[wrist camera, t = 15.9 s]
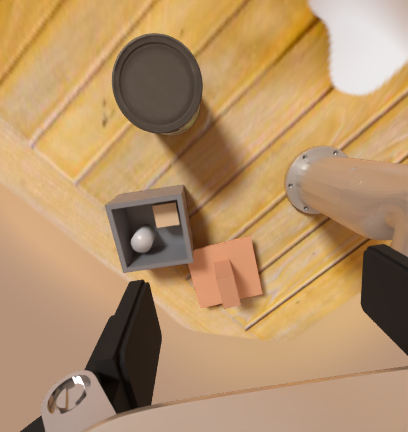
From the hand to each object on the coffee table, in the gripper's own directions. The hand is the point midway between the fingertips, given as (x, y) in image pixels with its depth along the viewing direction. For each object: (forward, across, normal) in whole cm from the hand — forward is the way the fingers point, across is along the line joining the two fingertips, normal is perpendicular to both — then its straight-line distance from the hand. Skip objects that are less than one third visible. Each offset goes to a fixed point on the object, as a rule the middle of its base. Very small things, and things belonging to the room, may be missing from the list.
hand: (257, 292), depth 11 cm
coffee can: (+36, +5, -13) cm, 39 cm away
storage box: (+36, +11, +7) cm, 39 cm away
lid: (+34, 0, +19) cm, 39 cm away
